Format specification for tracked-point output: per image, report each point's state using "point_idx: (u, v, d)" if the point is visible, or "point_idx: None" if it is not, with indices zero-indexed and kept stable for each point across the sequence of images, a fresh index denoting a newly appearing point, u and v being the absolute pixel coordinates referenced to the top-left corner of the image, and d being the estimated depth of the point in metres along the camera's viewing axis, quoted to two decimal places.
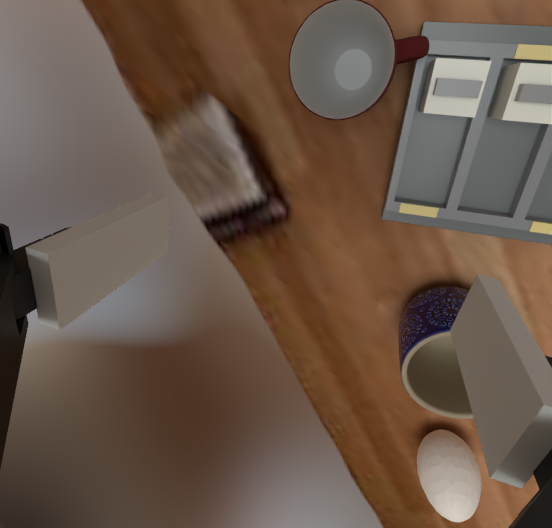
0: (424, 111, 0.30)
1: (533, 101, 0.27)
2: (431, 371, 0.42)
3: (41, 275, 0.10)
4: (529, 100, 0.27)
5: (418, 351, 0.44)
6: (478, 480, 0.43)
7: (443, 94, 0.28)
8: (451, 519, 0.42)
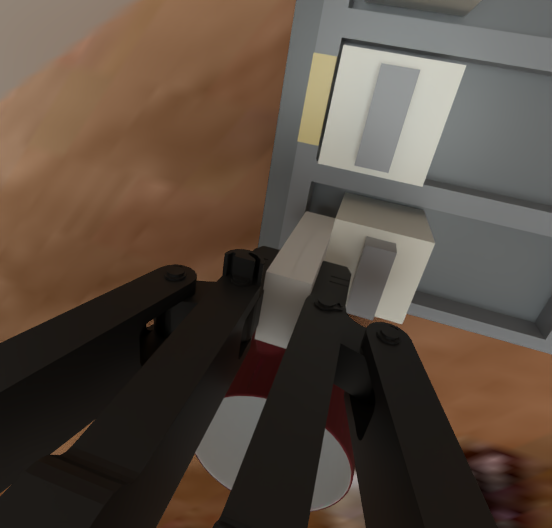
0: (399, 321, 0.16)
1: (395, 142, 0.12)
2: None
3: (274, 296, 0.11)
4: (392, 151, 0.12)
5: None
6: None
7: (375, 307, 0.15)
8: None
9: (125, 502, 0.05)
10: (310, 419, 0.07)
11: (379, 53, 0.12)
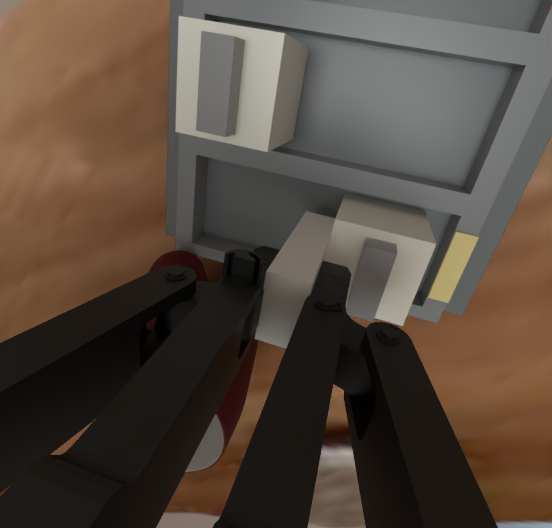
0: (400, 323, 0.16)
1: (226, 107, 0.13)
2: None
3: (273, 296, 0.11)
4: (225, 115, 0.13)
5: None
6: None
7: (375, 308, 0.15)
8: None
9: (124, 502, 0.05)
10: (310, 419, 0.07)
11: (209, 23, 0.13)
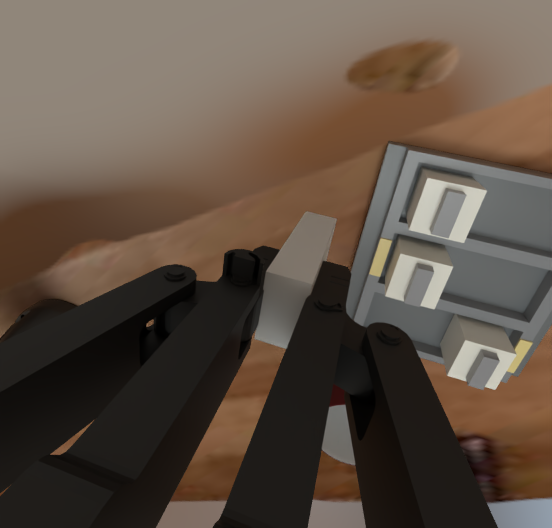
0: (493, 388, 0.31)
1: (423, 296, 0.28)
2: None
3: (274, 296, 0.11)
4: (421, 299, 0.28)
5: None
6: None
7: (485, 383, 0.30)
8: None
9: (125, 502, 0.05)
10: (310, 419, 0.07)
11: (416, 258, 0.28)
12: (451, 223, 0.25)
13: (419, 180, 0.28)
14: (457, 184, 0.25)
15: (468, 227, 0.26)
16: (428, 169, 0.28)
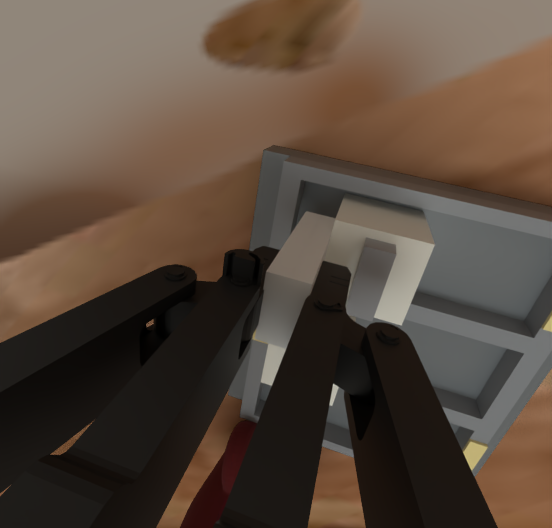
0: None
1: None
2: None
3: (274, 296, 0.11)
4: None
5: None
6: None
7: None
8: None
9: (124, 502, 0.05)
10: (310, 419, 0.07)
11: None
12: (375, 298, 0.15)
13: None
14: (385, 232, 0.14)
15: (407, 301, 0.15)
16: (353, 198, 0.18)
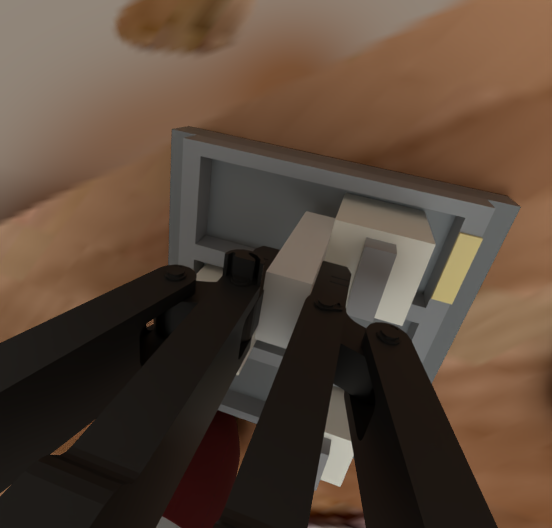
0: (338, 484, 0.21)
1: None
2: None
3: (274, 296, 0.11)
4: None
5: None
6: None
7: (317, 483, 0.20)
8: None
9: (124, 503, 0.05)
10: (310, 419, 0.07)
11: None
12: (375, 299, 0.14)
13: None
14: (385, 231, 0.14)
15: (408, 302, 0.15)
16: (353, 198, 0.18)
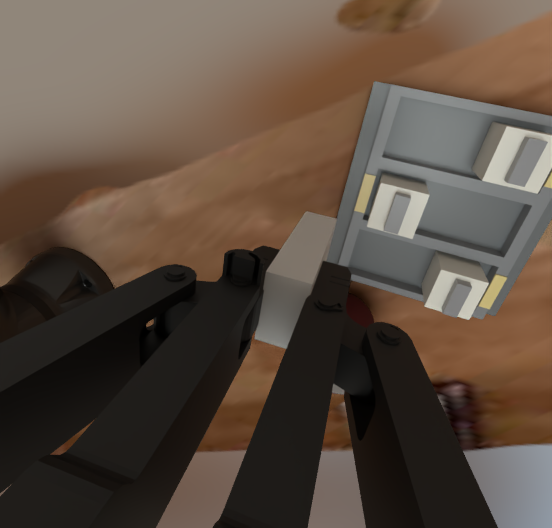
0: (467, 318, 0.33)
1: (400, 223, 0.30)
2: None
3: (273, 296, 0.11)
4: (399, 226, 0.30)
5: None
6: None
7: (458, 311, 0.31)
8: None
9: (124, 502, 0.05)
10: (310, 419, 0.07)
11: (395, 187, 0.30)
12: (529, 171, 0.26)
13: (491, 134, 0.29)
14: (537, 132, 0.25)
15: (544, 177, 0.26)
16: (500, 123, 0.29)
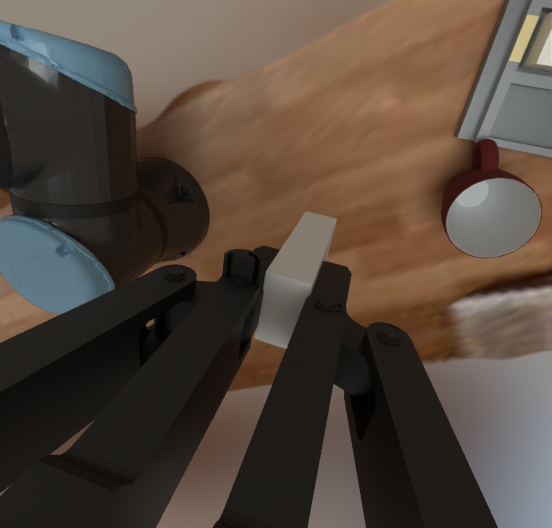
0: None
1: None
2: None
3: (274, 296, 0.11)
4: None
5: None
6: None
7: None
8: None
9: (124, 503, 0.05)
10: (310, 419, 0.07)
11: None
12: None
13: None
14: None
15: None
16: None
